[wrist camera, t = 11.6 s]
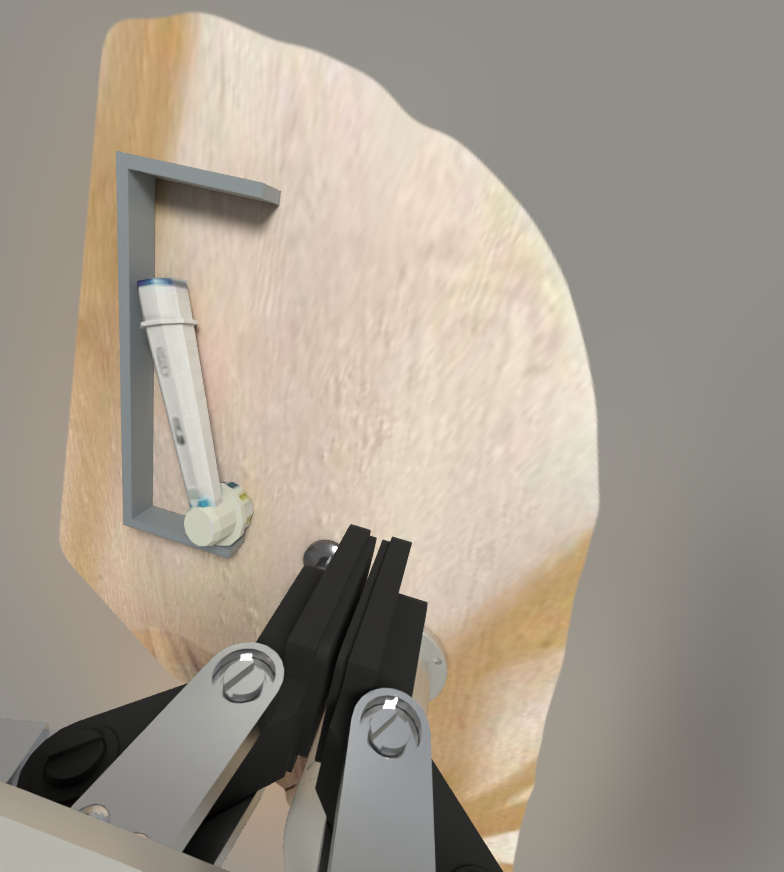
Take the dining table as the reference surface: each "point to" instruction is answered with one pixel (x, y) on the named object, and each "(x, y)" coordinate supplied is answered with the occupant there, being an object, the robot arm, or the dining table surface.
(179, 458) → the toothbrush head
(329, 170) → the dining table surface
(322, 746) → the robot arm
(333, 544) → the ball stud
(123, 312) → the bay
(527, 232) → the dining table surface
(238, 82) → the dining table surface
